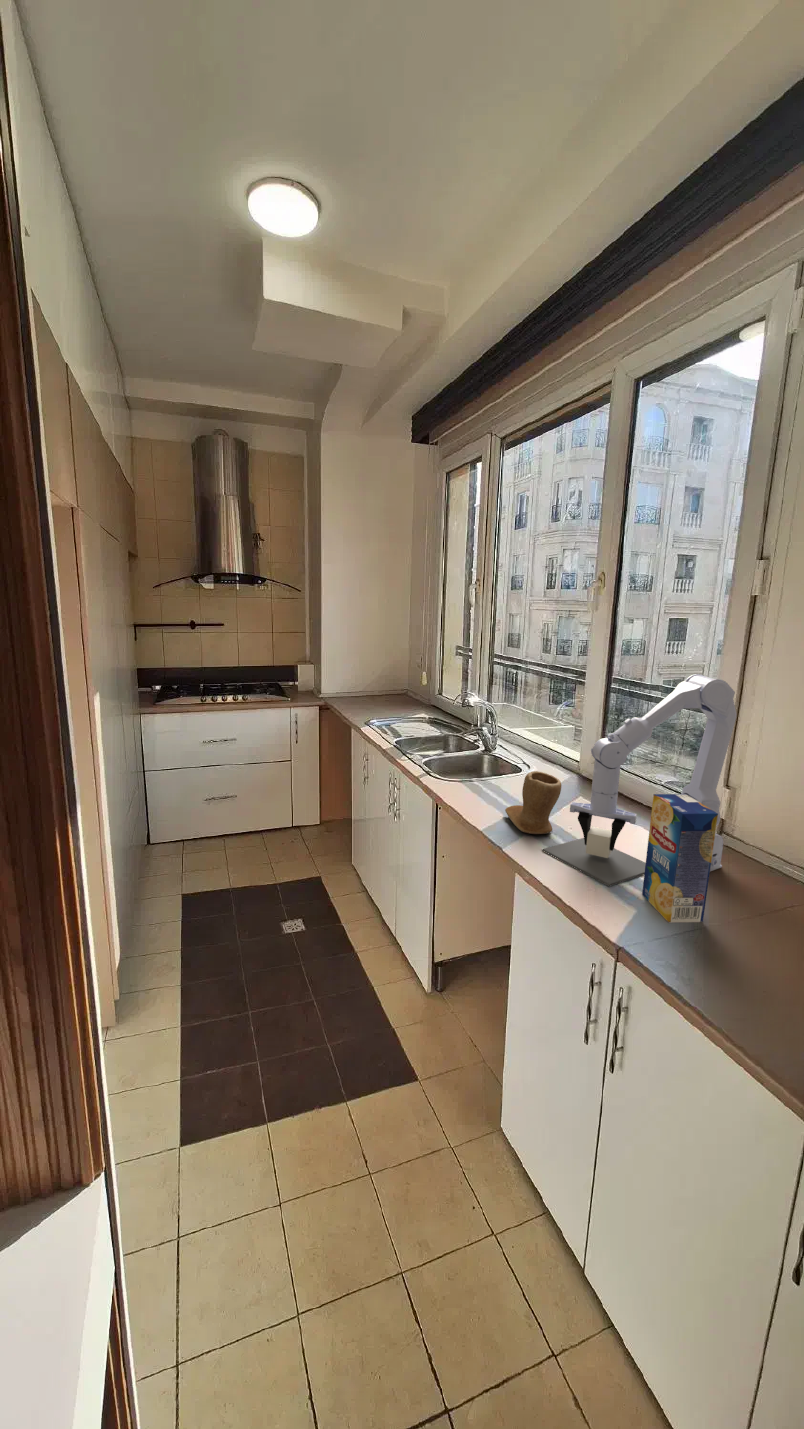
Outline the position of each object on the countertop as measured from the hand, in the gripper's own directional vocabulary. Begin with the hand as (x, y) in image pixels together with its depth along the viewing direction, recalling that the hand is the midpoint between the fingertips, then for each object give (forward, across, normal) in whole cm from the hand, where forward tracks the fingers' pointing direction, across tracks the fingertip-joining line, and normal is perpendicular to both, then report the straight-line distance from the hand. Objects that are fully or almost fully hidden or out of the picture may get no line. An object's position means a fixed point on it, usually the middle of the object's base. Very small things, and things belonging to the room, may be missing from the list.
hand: (599, 846), depth 137 cm
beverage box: (+4, -17, +14) cm, 23 cm away
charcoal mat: (+4, 0, 0) cm, 4 cm away
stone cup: (+4, +19, -12) cm, 23 cm away
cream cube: (+2, 0, 0) cm, 2 cm away
